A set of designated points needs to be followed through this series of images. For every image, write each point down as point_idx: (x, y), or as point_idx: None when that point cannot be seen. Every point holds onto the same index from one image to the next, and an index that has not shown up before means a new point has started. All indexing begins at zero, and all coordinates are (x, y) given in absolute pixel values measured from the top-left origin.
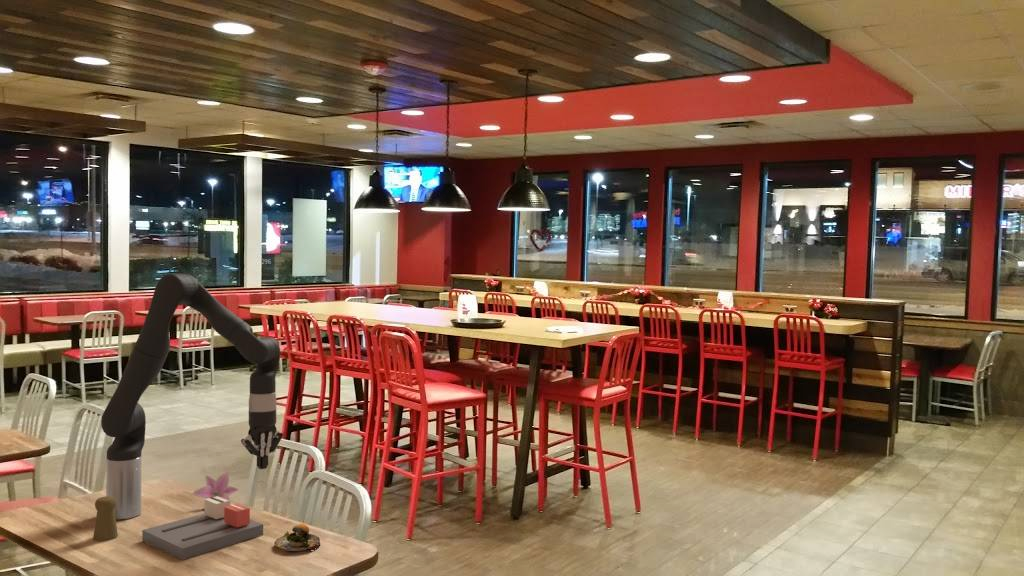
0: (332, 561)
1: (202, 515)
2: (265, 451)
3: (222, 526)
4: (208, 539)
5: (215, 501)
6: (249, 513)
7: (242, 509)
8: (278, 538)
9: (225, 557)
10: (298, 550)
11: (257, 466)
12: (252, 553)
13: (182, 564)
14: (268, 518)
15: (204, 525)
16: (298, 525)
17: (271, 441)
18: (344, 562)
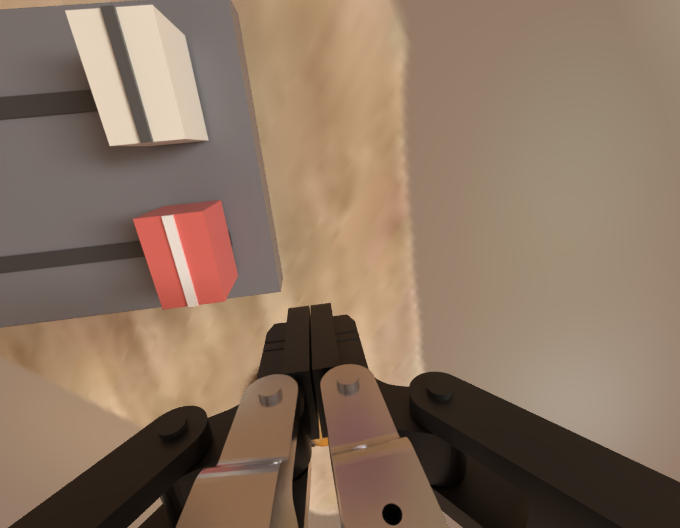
0: (322, 489)
1: None
2: (335, 483)
3: None
4: (72, 309)
5: (115, 101)
6: (228, 291)
7: (188, 306)
8: None
9: (127, 359)
10: None
11: (273, 330)
12: (199, 374)
13: (3, 338)
14: (373, 150)
15: (91, 168)
16: (315, 439)
17: (545, 509)
18: (336, 502)
